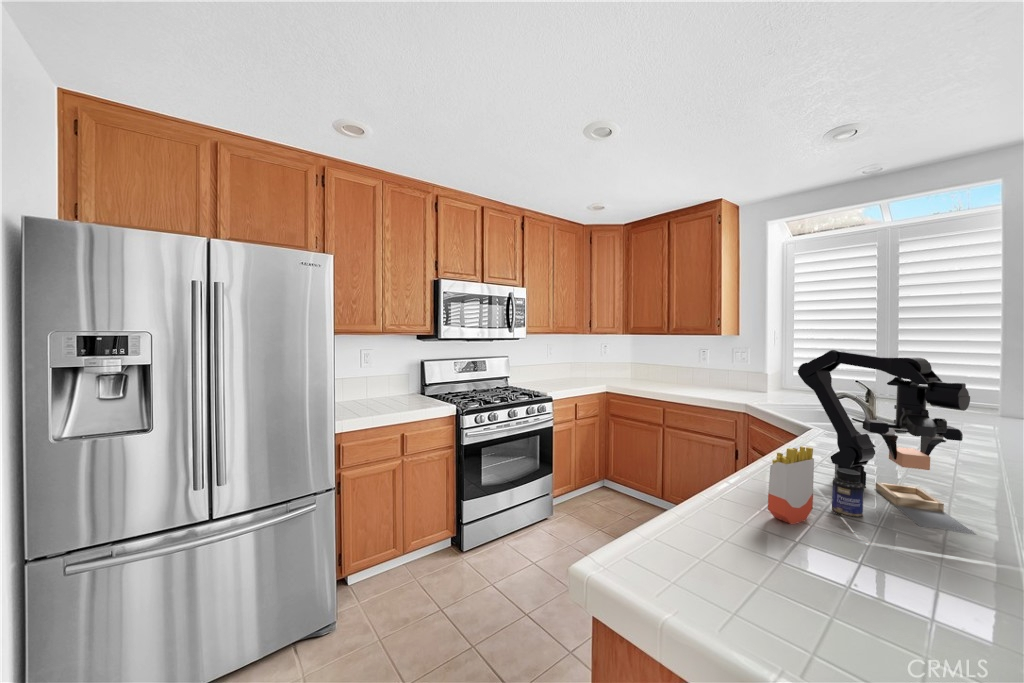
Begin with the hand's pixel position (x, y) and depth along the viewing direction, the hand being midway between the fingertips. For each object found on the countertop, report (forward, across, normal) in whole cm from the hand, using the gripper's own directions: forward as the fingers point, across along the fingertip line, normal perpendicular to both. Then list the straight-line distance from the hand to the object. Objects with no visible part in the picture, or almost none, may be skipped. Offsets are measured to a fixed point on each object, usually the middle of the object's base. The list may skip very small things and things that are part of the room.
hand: (908, 460), depth 110 cm
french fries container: (+12, -32, -26) cm, 42 cm away
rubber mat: (+11, 0, -6) cm, 13 cm away
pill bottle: (+12, -18, -16) cm, 27 cm away
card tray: (+11, 0, 0) cm, 11 cm away
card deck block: (+1, 0, 0) cm, 1 cm away
